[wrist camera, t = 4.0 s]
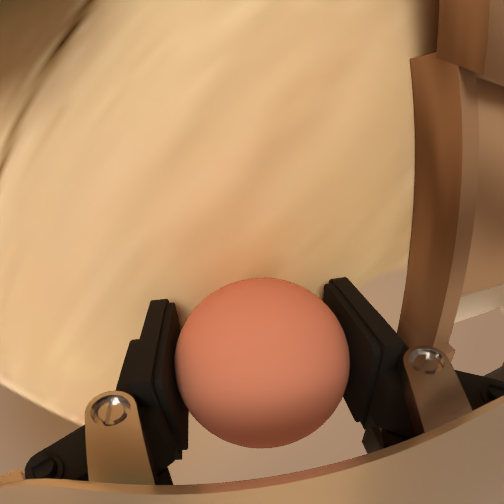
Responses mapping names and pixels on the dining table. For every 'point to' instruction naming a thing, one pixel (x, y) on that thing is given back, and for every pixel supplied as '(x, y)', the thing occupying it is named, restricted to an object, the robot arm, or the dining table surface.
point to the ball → (262, 363)
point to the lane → (456, 181)
